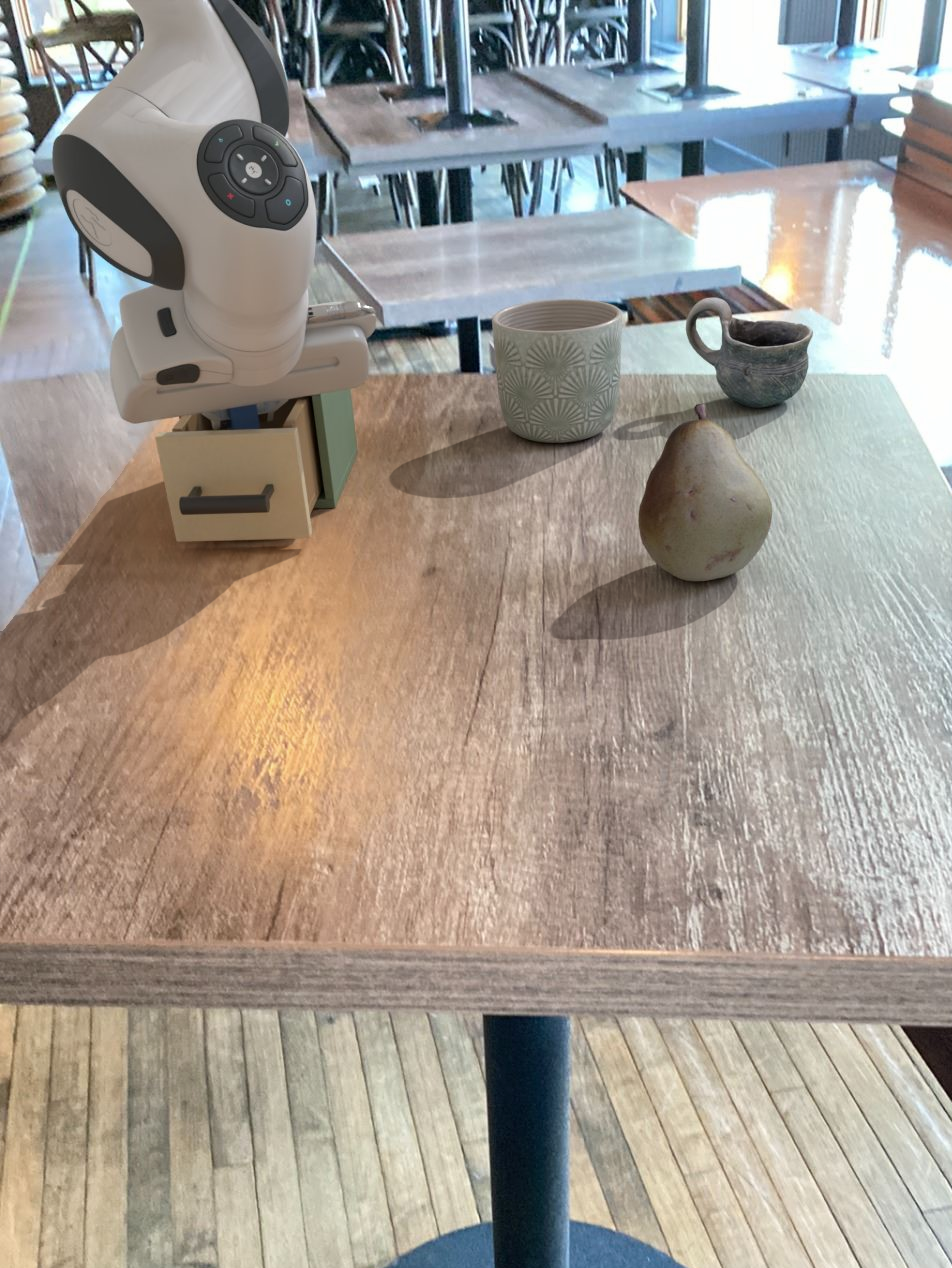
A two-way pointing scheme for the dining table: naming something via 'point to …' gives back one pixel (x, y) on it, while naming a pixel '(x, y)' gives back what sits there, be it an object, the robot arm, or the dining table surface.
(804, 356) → the mug
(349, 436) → the cabinet
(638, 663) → the dining table surface
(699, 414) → the fruit
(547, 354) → the planter
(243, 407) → the blue upright block
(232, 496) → the drawer
